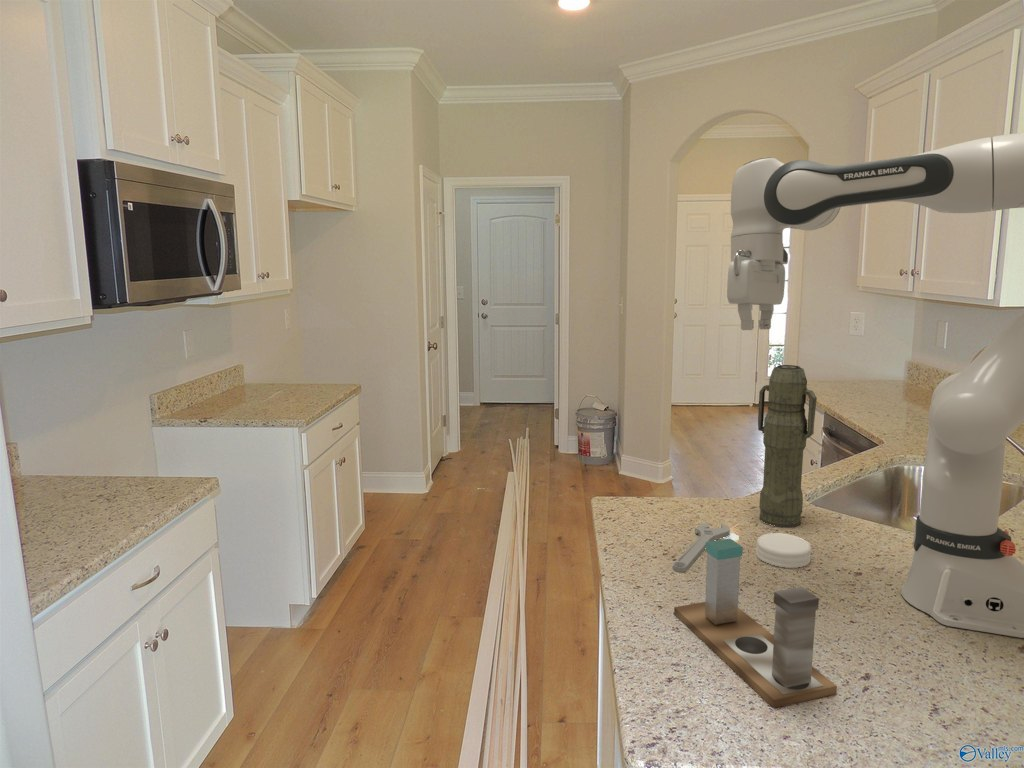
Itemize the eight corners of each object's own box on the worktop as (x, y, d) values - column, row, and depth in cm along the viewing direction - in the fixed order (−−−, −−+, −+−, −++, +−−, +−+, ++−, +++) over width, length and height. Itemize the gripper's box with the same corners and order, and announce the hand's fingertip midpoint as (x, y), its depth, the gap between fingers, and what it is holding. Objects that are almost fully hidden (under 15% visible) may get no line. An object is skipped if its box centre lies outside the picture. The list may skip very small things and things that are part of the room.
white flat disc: (800, 574, 131) (801, 556, 130) (748, 560, 137) (748, 543, 136) (817, 556, 138) (818, 540, 137) (767, 544, 144) (767, 528, 144)
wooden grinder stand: (674, 613, 116) (676, 535, 114) (726, 604, 119) (729, 528, 117) (773, 708, 92) (779, 611, 89) (836, 693, 95) (843, 599, 92)
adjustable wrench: (684, 576, 131) (684, 567, 131) (653, 568, 135) (653, 559, 135) (733, 533, 150) (733, 525, 150) (704, 527, 154) (704, 519, 154)
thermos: (803, 532, 150) (814, 371, 143) (747, 521, 156) (755, 367, 150) (812, 519, 157) (822, 365, 151) (758, 509, 163) (766, 362, 157)
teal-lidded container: (703, 615, 113) (705, 541, 111) (726, 611, 114) (730, 538, 112) (714, 625, 110) (718, 550, 107) (739, 621, 111) (742, 546, 109)
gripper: (754, 246, 116) (754, 330, 117) (791, 255, 132) (790, 328, 133) (717, 250, 119) (717, 331, 120) (757, 258, 135) (757, 329, 137)
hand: (756, 329), depth 127 cm, fingers open, 8 cm apart
